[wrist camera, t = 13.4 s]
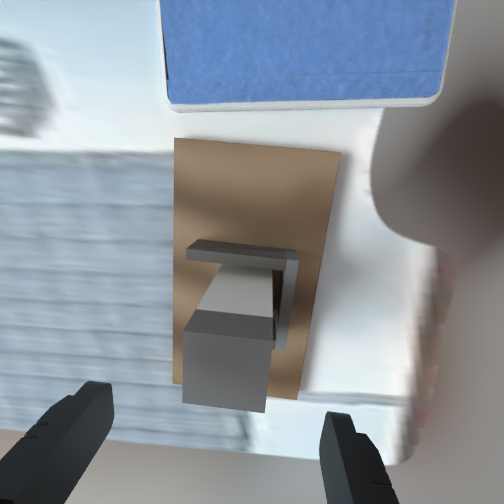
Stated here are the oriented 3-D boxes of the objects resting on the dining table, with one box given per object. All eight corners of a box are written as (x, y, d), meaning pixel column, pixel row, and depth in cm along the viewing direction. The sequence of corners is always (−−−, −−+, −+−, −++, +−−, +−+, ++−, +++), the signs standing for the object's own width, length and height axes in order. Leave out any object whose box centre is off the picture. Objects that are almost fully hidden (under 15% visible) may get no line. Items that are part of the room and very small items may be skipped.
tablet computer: (168, 114, 20) (161, 110, 18) (150, -105, 16) (140, -128, 15) (431, 109, 18) (443, 104, 17) (472, -131, 15) (490, -160, 14)
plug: (223, 261, 21) (182, 331, 11) (272, 266, 21) (272, 341, 11) (221, 305, 22) (182, 402, 12) (267, 310, 22) (264, 413, 12)
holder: (178, 139, 20) (156, 129, 16) (336, 154, 19) (353, 147, 15) (176, 375, 26) (159, 410, 22) (295, 391, 25) (300, 429, 21)
